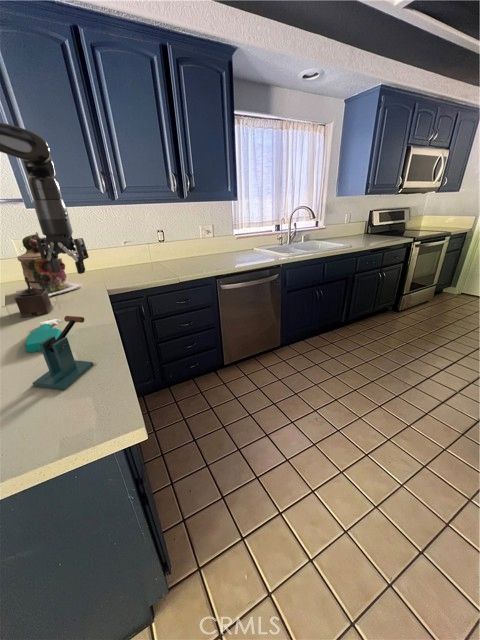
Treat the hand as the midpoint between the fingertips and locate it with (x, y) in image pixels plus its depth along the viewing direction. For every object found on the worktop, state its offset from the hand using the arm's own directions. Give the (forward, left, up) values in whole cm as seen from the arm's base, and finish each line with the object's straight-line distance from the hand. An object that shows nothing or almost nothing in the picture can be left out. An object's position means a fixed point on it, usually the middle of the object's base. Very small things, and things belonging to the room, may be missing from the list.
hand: (69, 272), depth 82 cm
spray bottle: (-22, +5, -27) cm, 35 cm away
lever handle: (+4, -11, -16) cm, 20 cm away
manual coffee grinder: (-44, +27, -27) cm, 59 cm away
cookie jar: (-65, +54, -27) cm, 89 cm away
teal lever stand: (+4, -16, -27) cm, 31 cm away
